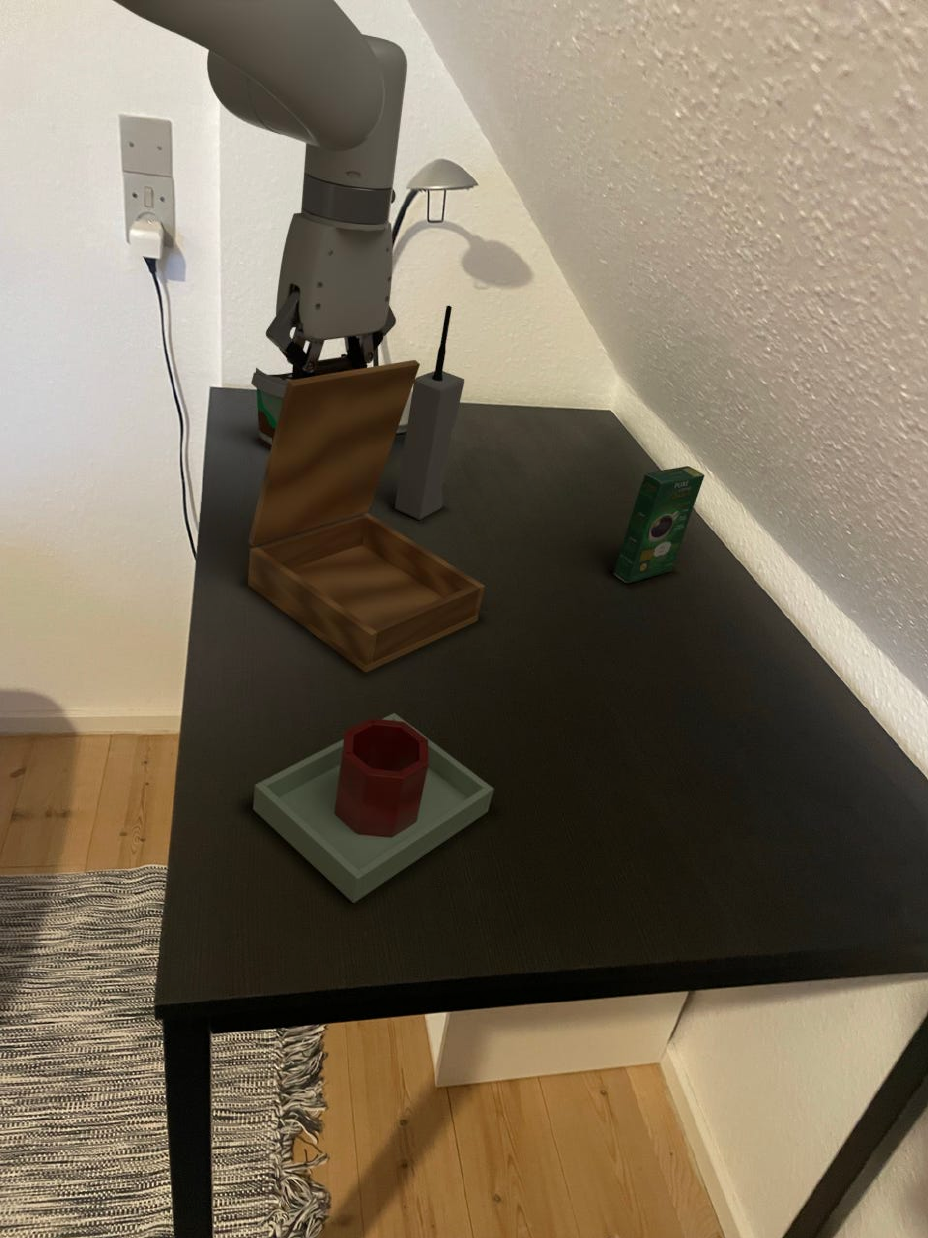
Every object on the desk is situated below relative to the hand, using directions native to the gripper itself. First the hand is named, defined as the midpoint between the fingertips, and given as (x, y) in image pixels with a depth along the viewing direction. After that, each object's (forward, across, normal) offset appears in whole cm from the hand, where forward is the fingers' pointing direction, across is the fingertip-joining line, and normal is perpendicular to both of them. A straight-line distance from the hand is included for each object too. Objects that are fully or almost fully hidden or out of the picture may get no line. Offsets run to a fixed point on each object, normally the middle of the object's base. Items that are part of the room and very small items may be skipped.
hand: (327, 401), depth 90 cm
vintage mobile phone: (+19, -20, -3) cm, 27 cm away
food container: (+19, -18, -24) cm, 35 cm away
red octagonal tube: (+18, +19, +30) cm, 40 cm away
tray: (+18, +19, +30) cm, 40 cm away
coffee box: (+19, -33, +22) cm, 43 cm away
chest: (+18, 0, +8) cm, 20 cm away
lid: (+5, 0, +2) cm, 5 cm away
